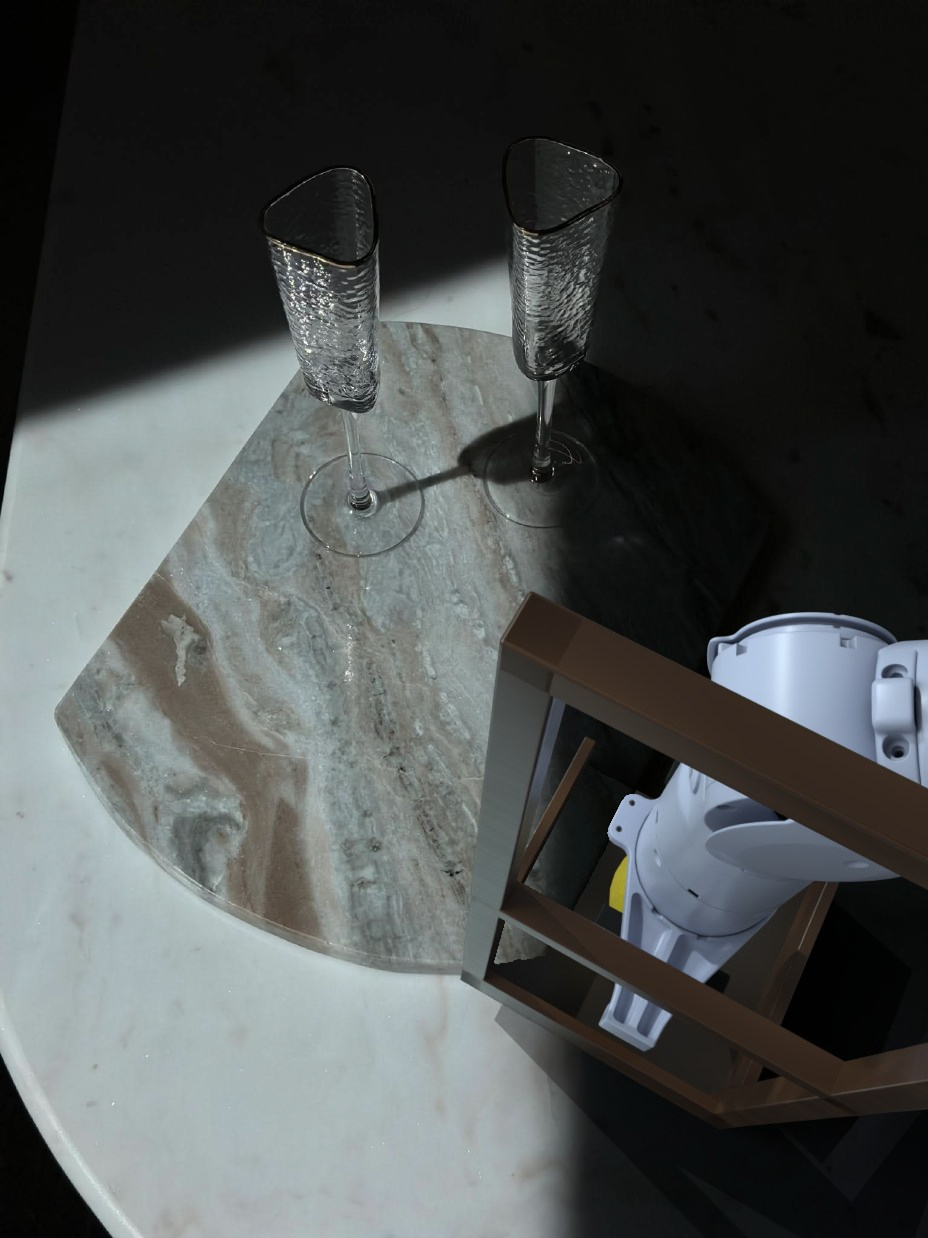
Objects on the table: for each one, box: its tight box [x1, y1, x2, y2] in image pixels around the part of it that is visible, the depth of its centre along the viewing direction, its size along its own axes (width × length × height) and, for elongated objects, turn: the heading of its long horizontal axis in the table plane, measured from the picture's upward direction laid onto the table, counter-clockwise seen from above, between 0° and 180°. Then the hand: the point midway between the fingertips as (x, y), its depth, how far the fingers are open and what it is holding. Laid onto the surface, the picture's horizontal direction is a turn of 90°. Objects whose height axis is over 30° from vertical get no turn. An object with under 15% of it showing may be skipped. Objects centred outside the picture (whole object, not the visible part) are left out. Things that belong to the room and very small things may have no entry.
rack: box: [459, 590, 928, 1130], centre depth 40 cm, size 13×14×42 cm
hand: (667, 907), depth 53 cm, fingers closed on lemon, 5 cm apart
